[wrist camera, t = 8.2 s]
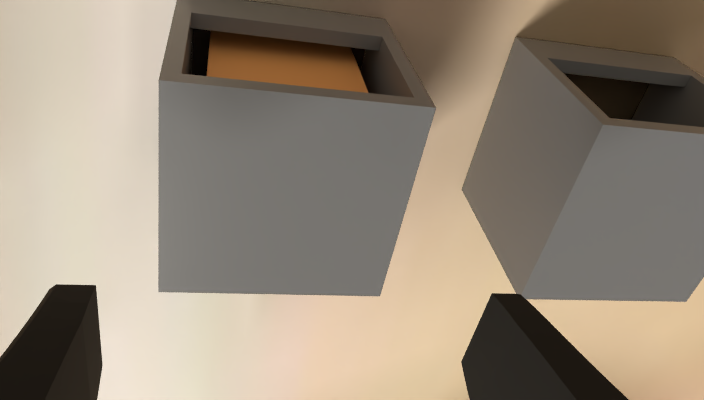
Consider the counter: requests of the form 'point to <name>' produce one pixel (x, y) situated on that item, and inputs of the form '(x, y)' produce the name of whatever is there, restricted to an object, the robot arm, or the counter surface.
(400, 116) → the open grey box
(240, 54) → the orange block
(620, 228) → the grey hollow cube
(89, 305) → the robot arm
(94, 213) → the counter surface
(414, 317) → the counter surface
